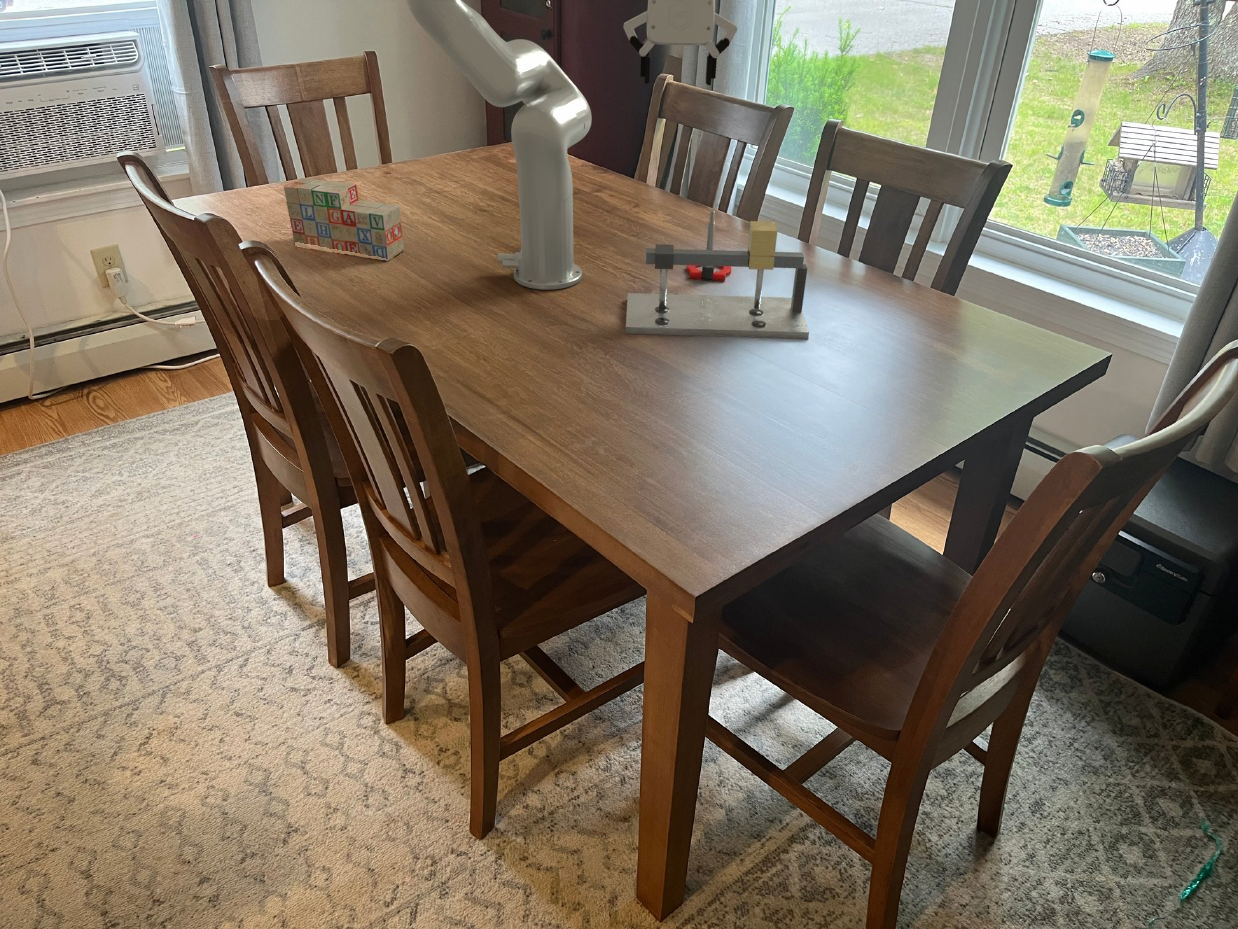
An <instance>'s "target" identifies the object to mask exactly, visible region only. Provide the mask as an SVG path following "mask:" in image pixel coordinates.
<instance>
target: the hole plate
mask: <svg viewBox="0 0 1238 929" xmlns="http://www.w3.org/2000/svg"><path fill="white" fill-rule="evenodd" d="M754 300H755V296H749V295H748V296H747V295H746V296H744V295H743V296H741V295H739V296H738V295H715V294H714V295H712V294H711V295H710V294H709V295H707V294H678V293H676V294H673V293H672V294H671V293H669V294H668V293H666V310H663V311H661V310H659V293H642V292H641V293H640V292H639V293H638V292H637V293H636V292H634V293H633V292H627V300H626V302H627V303H626V317H625V318H626V319H625V334H627V335H628V334H630V335H631V334H632V335H658V336H661V335H663V336H664V335H665V336H669V335H670V336H696V337H724V338H725V337H726V338H727V337H729V338H731V337H733V338H734V337H735V338H758V339H759V338H760V339H761V338H764V339H765V338H767V339H793V338H800V339H799V340H801V338H803V339H802V340H804V339H805V338H807V339H805V340H808V339H809V338H810V337H809V336H810V330H809V327H808V323H807V321H806V318H805V315H804V312H803V310H802V312H792V309H791V302H792V297H784V296H783V297H777V296H774V297H773V296H772V297H771V296H761V300H760V308H759V309H755V308H754Z"/></svg>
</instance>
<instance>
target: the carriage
mask: <svg viewBox="0 0 1238 929" xmlns="http://www.w3.org/2000/svg"><path fill="white" fill-rule="evenodd" d="M777 238H778V229H777V225H776V222H775V221H762V220H761V221H759V220H758V221H755V220H750V222H749V233H748V241H747V242H748V243H747V251H749V254H750V257H749V267H748V270H757V272H756V279H755V280H756V283H755V293H754V297H755V300H754V308H755V309H759V308H760V300H761V297H762V290H763V280H764V271H765V270H767V271H768V270H769V271H774V268H773V266H774V258H775V252H776V249H777V248H776V246H777Z"/></svg>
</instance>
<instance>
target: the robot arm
mask: <svg viewBox="0 0 1238 929" xmlns="http://www.w3.org/2000/svg"><path fill="white" fill-rule="evenodd" d="M406 3H407V5H408V8H409V10H410V12H411V15H412V16H413V18H414V19H415V21H416V22H417V23H418V24H419V26H420V27H421V28H422V29H423V31H425V32H426V33H427V35H428V36H429V37H430V38H431V40H433V41H434V42H435V43H436V44H437V45H438V47H440V48H441V50H442V51H443V52H444V53H445V54H446V56H448V58H449V59H450V60H451V61H452V63H453V64H454V65H455V66H456V67H457V69H458V70H460V73H462V74H463V75H464V77H465V78H466V79H467V80H468V81H469V82H470V84H471V85H472V86H473V87H474V88H475V89H476V91H477V92H478V93H479V94H480V95H481V96H482V97H483V98H484V100H486V101H487V103H489V104H491V105H492V106H494V107H498V108H506V107H509V106H512V105H515V104H517V103H520V102H523V104H524V105H523V106H521V107H520V108H519V109H518V111H517V112H516V113H515V116H514V118H513V121H512V123H511V130H510V133H511V134H510V135H511V137H510V138H511V143H512V148H513V152H514V157H515V163H516V172H517V186H518V187H517V188H518V189H517V190H518V204H519V225H520V226H519V229H520V231H519V232H520V251H519V252H515V253H514V254H511V253H503V252H502V253H501V252H500V253H499V252H498V254H497V264H498V265H502V269H510V268H513V269H514V270H513V279H514V280H515V282H517V284H519V285H521V286H523V287H526V288H529V289H534V290H547V291H549V290H550V291H551V290H561V289H565V288H569V287H572V286H574V285H576V284H577V283H579V282H580V281H581V280H582V277H583V271H582V268H581V267H580V266H578V264H576V263H574V194H573V192H574V191H573V185H574V184H573V175H572V174H573V173H572V168H571V165H570V162H569V161H570V160H569V157H568V149H569V148H570V147H573V146H574V145H576V144H577V143H578V142H580V141H582V140H583V139H584V138H585V137H586V135H587V134H588V133H589V131H590V128H591V126H592V121H593V120H592V119H593V118H592V111H591V108H590V105H589V102H588V101H587V99H586V97H585V96H584V95H583V93H582V92H581V91H580V89H579V88H578V87H577V86H576V84H574V83H573V81H572V80H571V79H570V78H569V76H568V75H567V74H566V73H565V72H564V70H563V69H562V68H561V67H560V66H559V64H558V63H557V62H556V61H555V60H554V59H553V58H552V57H551V55H550V54H549V53H548V52H547V50H544V48H542V47H541V46H540V45H539V44H537V43H535V42H533V41H531V40H529V39H521V38H519V39H518V38H517V39H513V40H510V41H505V40H504V39H503V38H502V37H501V36H500V35H499V34H498V33H497V32H496V31H495V30H494V29H493V28H492V27H491V26H490V24H489V23H488V21H487V20H486V19H485V18H484V17H483V16H482V15H481V14H480V13H478V12H477V11H476V10H475V9H474V8H472V7H471V6H469V5H468V4H466V3H465V2H464V1H463V0H406ZM645 23H646V37H647V38H645V40H644V41H643V42H642V41H641V39H640V37H638V36H637V34H636V32H635V29H636V28H637V27H639V26H641V25H643V24H645ZM716 25H717V26H718V27H720V28H722V29H723V30H725V33H724V36H723V37H722V38H721V39H720V40H718V42H717V43H716V44H715V42H714V41H713V39H714V35H715V34H714V32H715V26H716ZM622 28H623V30H624V32H625V35H626V36H627V38H628V41H629V43H630V45H631V46H632V47H633V48H634V49H635V50H636V52H637V53H638V55H639V56H640V78H644V85H648V84H649V83H650V75H651V74H650V72H651V71H650V70H651V54H650V51H651V49H653V47H654V46H655V45H662V46H664V45H665V46H696V47H697V46H699V47H700V46H704V47H705V48H706V50H707V51H708V55H706V69H705V84H706V85H707V86H711V85H712V79H713V80H715V79H717V78H716V77H717V64H718V63H717V62H718V58H719V57H720V55H721V54H722V53H723V52H725V50H726V49H727V48H728V47H729V46H730V44H731V42H732V41H733V39H734V37H735V35H736V33H737V32H738V27H737V25H736V24H735V23H733V22H731V21H729V20H728V19H726V18H725V17H724V16H721V15H720V14H718V13H717V12H716V0H648V1H647V10H646V11H644V12H642V13H640V14H638V15H637V16H635V17H633V18H631V19H629V20H627V21H625V22H624V23H623V27H622Z"/></svg>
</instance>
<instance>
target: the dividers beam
mask: <svg viewBox="0 0 1238 929" xmlns="http://www.w3.org/2000/svg"><path fill="white" fill-rule="evenodd" d="M749 257H750V254H749V251H748V250H723V249H722V250H721V249H719V250H718V249H713V250H706V249H691V248H690V249H687V248H686V249H682V248H679V249H678V248H674V244H659V243H657V244H655V248H654V247H653V248H652V247H651V248H649V247H648V248H646V254H645V264H646V265H654V269H655V270H659V271H660V272H659V273H660V274H659V293H658V294H659V310H661V311H663V310H666V294H668V293H667V291H668V290H667V288H668V270H674V266H687V265H695V266H699V267H702V266H714V267H715V266H731V268H732V267H735V268H737V267H738V268H740V267H741V268H749ZM804 259H805V256H804V253H803V252H796V251H795V252H789V251H775V258H774V266H773V269H776V268H777V269H795V270H794V278H793V288H792V295H791V298H792V302H791V309H792V312H802V311H803V306H804V305H803V304H804V297H805V291H806V290H805V289H806V284H807V283H806V282H807V275H808V274H807V273H808V266H807V264H805V263H804Z"/></svg>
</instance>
